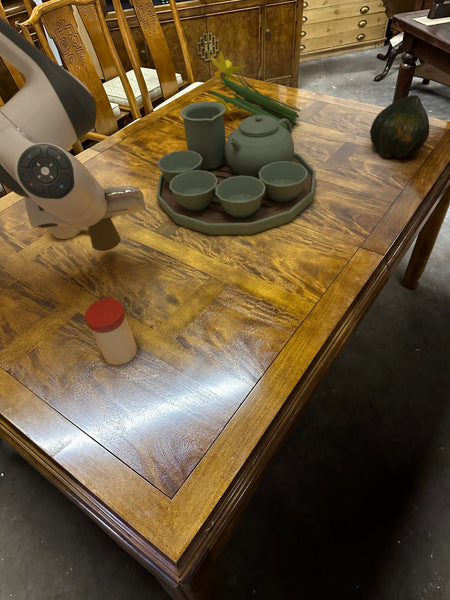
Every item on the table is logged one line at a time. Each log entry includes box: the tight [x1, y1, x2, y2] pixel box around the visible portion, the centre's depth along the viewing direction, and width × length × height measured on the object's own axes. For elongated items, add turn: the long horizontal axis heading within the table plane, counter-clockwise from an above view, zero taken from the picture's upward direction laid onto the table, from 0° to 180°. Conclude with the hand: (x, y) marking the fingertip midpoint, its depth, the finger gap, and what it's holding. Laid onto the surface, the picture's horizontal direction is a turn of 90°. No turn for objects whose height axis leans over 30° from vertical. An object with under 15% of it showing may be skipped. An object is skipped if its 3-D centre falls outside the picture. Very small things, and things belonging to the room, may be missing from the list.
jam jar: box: [90, 315, 138, 366], centre depth 70 cm, size 6×6×10 cm
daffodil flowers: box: [205, 50, 301, 130], centre depth 131 cm, size 17×15×35 cm
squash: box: [369, 94, 430, 159], centre depth 111 cm, size 14×15×15 cm
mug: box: [46, 226, 89, 240], centre depth 96 cm, size 13×9×10 cm
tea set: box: [156, 100, 317, 236], centre depth 101 cm, size 40×40×16 cm
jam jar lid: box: [84, 297, 127, 333], centre depth 66 cm, size 6×6×2 cm
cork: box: [87, 218, 121, 252], centre depth 84 cm, size 6×6×11 cm
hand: (97, 216), depth 84 cm, fingers closed on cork, 4 cm apart
